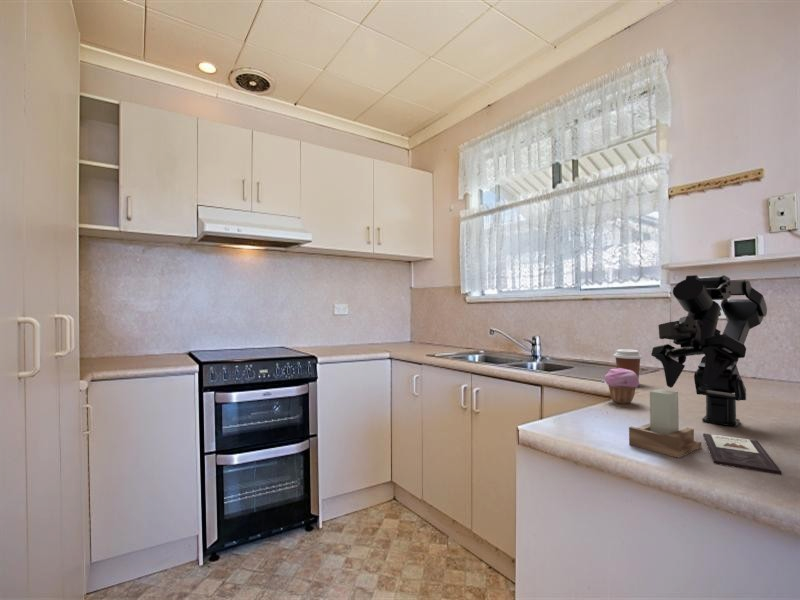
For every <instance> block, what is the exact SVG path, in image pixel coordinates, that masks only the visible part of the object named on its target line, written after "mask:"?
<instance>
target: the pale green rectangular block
mask: <svg viewBox="0 0 800 600" xmlns="http://www.w3.org/2000/svg"><path fill="white" fill-rule="evenodd" d="M679 418H680V417H679V392H678V391H674V390H667V389H660V388H659V389H654V390H650V391H649V423H650V431H652V432H656V433H661V434H665V435H670V434H672V433H675V432H677V431H680V430H679V429H680V428H679V426H680V424H679V423H680V422H679Z"/></svg>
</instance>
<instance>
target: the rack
mask: <svg viewBox="0 0 800 600" xmlns="http://www.w3.org/2000/svg"><path fill="white" fill-rule="evenodd" d="M694 429H695V428H691V427H685V428H682V429H680V430H679V431H677V432H675V433H672V434H670V435H665V434H661V433H656V432H652V431H650V422H649V423H647V424H645V425H644V424H643V425H641V426H639V427H635V426H628V432H629V433H628V439H629V440H628V445H631V446H634V447H637V448H641V449H645V450H648V451H652V452H655V453H658V452H659V454H662V453H663V454H662V455H665V454H667V455H666V456H669V455H671V456H670V457H673V456H675V457H674V458H676V457H678V458H677V459H680V458H682V457H684V456H683V455H685V454H687V453H689V452H691V451H693V450H695V449H697V448H699V449H701V448H702V442H701V441H696V440H695V430H694ZM700 447H701V448H700ZM697 450H698V449H697ZM695 451H696V450H695ZM693 452H694V451H693ZM691 453H692V452H691ZM689 454H690V453H689ZM687 455H688V454H687ZM681 456H682V457H681ZM685 456H686V455H685ZM679 457H680V458H679Z"/></svg>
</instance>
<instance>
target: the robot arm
mask: <svg viewBox="0 0 800 600" xmlns="http://www.w3.org/2000/svg"><path fill="white" fill-rule="evenodd" d="M672 295H673V296H674V298H675V299H676V301H677V302H678V303H679V305H680V306H681V307H682V309H683V310H684V311H685V312H687V315H686V316H683V317H680V318H679V320H675V321H668V322H664V323H660V324H658V325H657V326H658V327H657V328H658V336H659V340H665V339H666V340H672V343H673V344H675V345H677V346H678V345H679V346H680V347H675V346H673V345H671V344H669V343H667V344H660V345H656V346H653V348H652V351H651V357H653V358H655V359H656V360H658V361H659V362H660V363H661V364H662V367H663V372H664V377H665V381H666V386H667V387H668V388H673V387H674V386H675V384H676V382H677V381H678V379H679V377H680V375H681V374H682V372H683V370H684V368H685V367H686V365H685V364H684V363H685V362H686V361H687V357H689V356H701V355H703V356H702V357H701V361H700V362H699V365H697V367H698V368H697V369H696V370H695V372H694V374H693V375H694V376H693V379H694V384H695V392H696V395H702V396H705V415H704V416H703V418H701V421H702V422H706V423H711V424H717V425H723V426H729V427H737V426H738V425H739V423H740V422H741V420H740V419H739V418H737V409H736V408H737V402H739V401H747V388H746V387H745V383H744V381H743V379H742V376H741V375H740V372H739V368H738V365H737V364H738V361H739V359H743V358H745V357H746V352H747V347H746V346H745V342H746V340H747V338H748V335H749V331H750V330H751V329H753V328H756V327H757V326H759V325H761V323H762V321H763V319H764V317H766V316H767V314H768V306H767V304H766V300H765V297H764V295H763V294H762V293H760V292H759V291H757V290H756V289H755V288H753V287H752V285H751V282H750V280H746V279H733V280H732V279H731V278H730V277H728V276H727V275H724V274H723V275H721V274H720V275H703V276H700V275H699V276H698V275H697V274H690V275H686V277H685V279H683V280H681V281H680V282H678V283H676V284H675V286H674V287H673V289H672ZM731 296H745V297H746V298H747V299H746V298H743V299H742V298H738V299H736V298H735V299H733V298H731ZM729 298H731V299H729ZM716 301H721V303H720V305H719V303H718V302H716ZM721 310H722V311H721ZM722 312H723V315H724V316H725V318H726V323H725V324H726V325H725V327H724V329H723V332H722V334H721V330H719V329H717V328H718V327H717V325H718V324H719V317H721V316H722V314H721V313H722Z"/></svg>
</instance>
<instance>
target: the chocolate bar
mask: <svg viewBox="0 0 800 600" xmlns="http://www.w3.org/2000/svg"><path fill="white" fill-rule="evenodd" d="M702 435H703V436H702V437H703V439H704V442H705V441H706V442H705V445H706V446H708V447H707V449H708V452H709V451H710V452H709V454H711V455H710V457H711V460H712V459H713V460H712V463H713V464H714V463H716V465H720V464H722V465H721V466H726V465H728V467H732V466H734V467H733V468H738V467H739V469H746V470H752V471H758V472H763V473H769V474H774V475H775V474H776V475H782V470H781V469H780V468H779V466H778V465H777V464H776V462H775V461H774V460H773V459H772V456H770V455H769V453H768V452H767V451H766V449H765V448H764V447H763V446H762V444H761V443H760V442H759V441H758V439H757V440H755V439H747V438H741V437H736V436H735V437H733V436H727V435H726V436H725V435H719V434H711V433H705V432H704V433H703V434H702Z"/></svg>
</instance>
